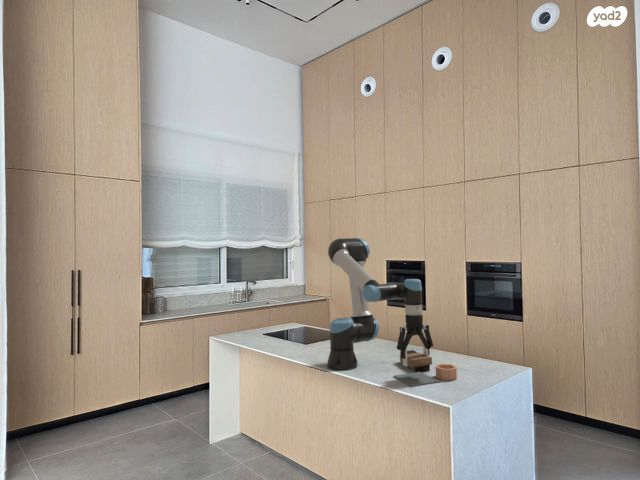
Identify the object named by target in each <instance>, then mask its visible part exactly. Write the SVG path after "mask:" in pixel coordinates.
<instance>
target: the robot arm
mask: <svg viewBox="0 0 640 480" xmlns="http://www.w3.org/2000/svg"><path fill="white" fill-rule="evenodd" d="M327 249H328V250H327V255H328V257H329V260H330V261H331V262H332V263H333V264H334V266H339V268H340V269H342V271H343V272H344V273H345V274H346V275H348V279H349V289H350V297H351V298H350V299H351V307H352V308H351V309H352V313H351V315H350V317H339V318H335V319H333V320H331V322H330V323H329V343H330V344H329V345H330V351H329V354H328V358H327V362H326V364H327V365H326V366H327V368H329V369H331V370H336V371H337V370H338V371H346V370H348V371H349V370H353V369H355V368H357V367H358V366H359V365H358V359H357V356H356V354H355V351H354V350H355V349H354V348H355V347H354V344H356V343H357V344H358V343H362V342H369V341H372V340H375V338H376V337H377V336H378V335H379V331H380V326H379V322H378V320H377V318H375V317H374V315H373V313H372V312H371V311H370V307H369V306H370V305H369V303H377V302H382V301H391V300H402V301H403V300H404V308H405V309H404V311H405V312H404V313H405V315H404V316H405V326H403V327H402V326H399V334H398V335H399V336H398V341H397V344H396V350H398V351H401V358H403V363H402V366H404V367H407V366H408V362H407V351H408V350H407V348H408V346H409V344H410V341H411V339H412V338H413V337H414V336H418V337H419V339H420V341H421V343H422V345H423V346H424V347H423V348H422V354H424V355H427V356H430V349H431V348H432V347H434V343H433V339H432V337H431V332H430V325H428V324H423V322H424V319H423V297H422V296H423V288H422V281H421V280H420V279H418V278H407V279H404V281H403V282H393V281H392V282H387V283H379V282H378V281H377V280H376V279H374V278H373V276H371V274H370V273H369V272H367V270H366V269H365V265H366V264H367V260H368V258H369V257H370V252H371V251H370V246H369V244H368V242H367V241H366V240H365V239H363V238H358V237H355V238H354V237H353V238H351V237H350V238H348V237H347V238H341V237H340V238H336V239H334V240H332V241H331V243H330V244H329V246H328V248H327ZM422 330H423V331H422ZM405 350H407V351H405ZM407 368H408V367H407Z"/></svg>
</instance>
